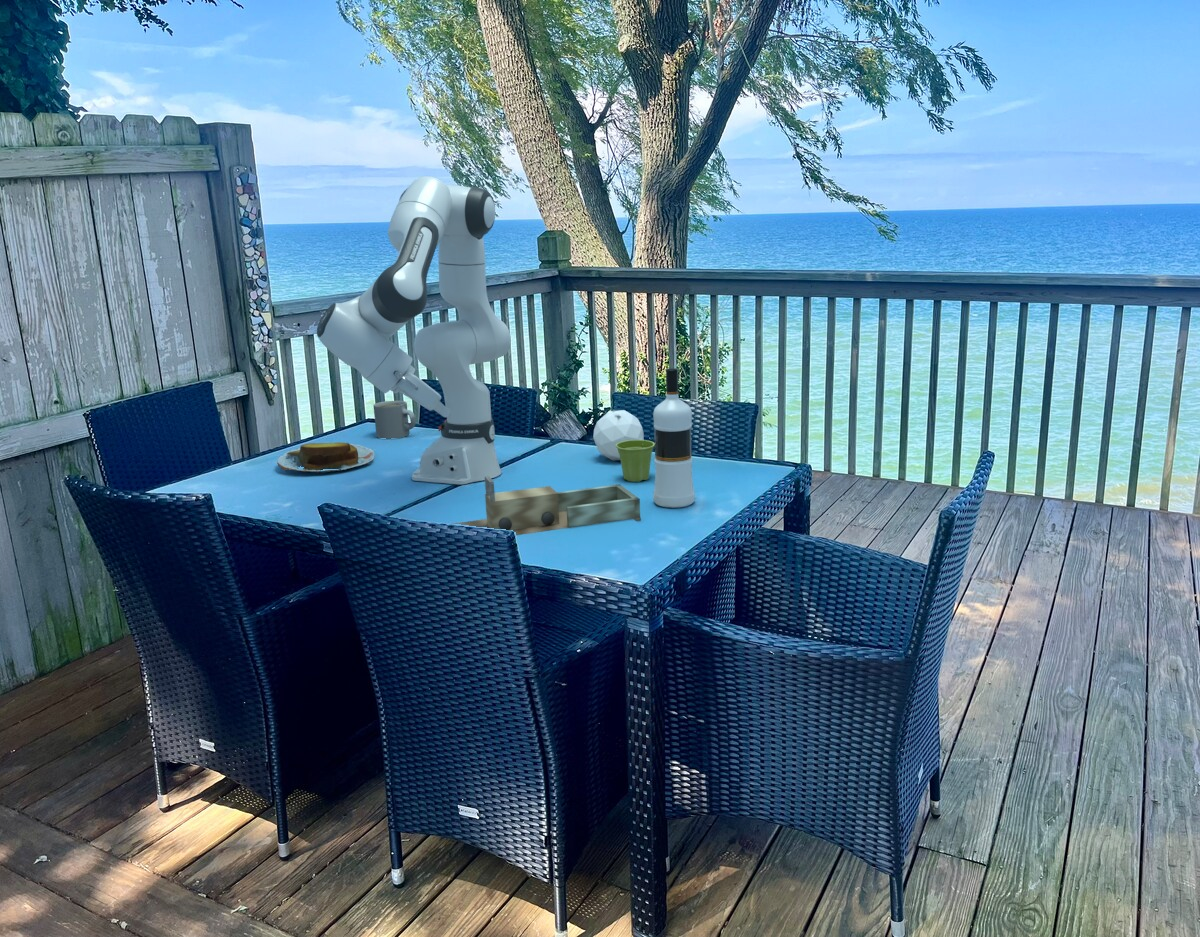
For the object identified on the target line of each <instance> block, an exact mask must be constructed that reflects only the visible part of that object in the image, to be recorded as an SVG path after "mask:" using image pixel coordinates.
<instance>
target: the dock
mask: <svg viewBox="0 0 1200 937" xmlns="http://www.w3.org/2000/svg"><path fill="white" fill-rule="evenodd" d="M556 492H557V491H556ZM557 493H558V505H559V523H558V524H551V525H544V526H537V527H529V528H522V529H515V530H513V531H514V532H516V535H515V536H521V535H528V534H534V533H535V534H536V533H541V532H549V531H557V530H564V529H571V528H578V527H583V526H584V527H585V526H590V525H591V526H593V525H599V524H600V525H601V524H605V523H606V524H607V523H613V522H619V521H620V522H621V521H627V520H634V521H635V522H639V521H641V520H642V517H641V502H640V498H639V497H638V496H637V495H635V494H634V493H633V492H631V491H629V490H628V489H627V488H625V487H624V486H623V485H621V484H620V483H619V484H612V485H611V484H610V485H605V486H596V487H587V488H580V489H579V488H578V489H572V490H563V491H558V492H557ZM453 524H461V525H469V526H476V527H487V528H490V527H489V526H488V525H487V518H484V519H475V520H468V521H462V522H455V523H453Z"/></svg>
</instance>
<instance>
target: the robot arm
mask: <svg viewBox="0 0 1200 937" xmlns="http://www.w3.org/2000/svg"><path fill="white" fill-rule="evenodd" d="M495 220H496V203H495V201H494V197H493V196H492V194H491V193H490V192H489V190H487V189H484V188H482V187H478V186H477V187H476V186H472V187H469V186H463V185H456V184H455V185H454V184H446V183H445V181H443V180H441V179H439V178H437V177H434V176H431V175H426V176H425V175H424V176H420V177H418V178H416V179H415V180H413V182H412V183H411V184H410V185H409V186H408V187H407V188H406V189H405V190H404V191H403V192H402V193H401V195H400V197H399V201H398V203H397V205H396V207H395V208H394V211H393V213H392V215H391V218H390V221H389V224H388V230H387V237H388V239H389V241H390V244H391V245H392V246H393V248H394V249H395V250H396V251H397V252H398V255H397V257H396V260H395V262H394V264H391V265H390V266H389V267H387V268H386V269H385V270H383V272H381V273H380V275H378V277H377V278H376V280H375V281H374V282H373V283H371V285H370V286H369V287H368V288H367V289H366V290H365V291H364V292H363V293H362V294H361V295H358V296H356V297H354V298H353V299H350V300H347V301H344V302H339V303H338V302H334V303H332V304H331V305H330V306H329V307H328V308H327V309H326V310H325V312H324V314H323V315H322V316H321V318H320V320H319V322H318V324H317V327H316V336H317V338H318V340H319V341H320V343H321V344H322V345H323V346H324V347H325V348H326V349H327V350H328V351H330V352H331V353H332V354H333V355H334V356H335V357H337V358H338V359H339V360H340V361H341V362H343V363H344V364H345V365H347V366H349V367H351V368H353V369H355V370H357V371H358V372H359V374H360V375H361V376H362V377H363V379H365V380H366V381H368V382H369V383H370V384H371V385H373V386H374V387H375V388H376V389H378V390H379V391H380V392H382V393H383V394H387V393H389V391H391V392H392V393H393V394H398V393H401V394H402V395H404V396H405V397H407V398H409V399H410V400H412V401H414V402H416V403H417V404H418V405H420V406H422V407H423V408H425V409H426V410H428V411H435V412H437V413H438V414H439V415H440V416H441V417H443V418H446V419H445V420H444V422H442V423H441V424H440V425H439V426H438V427H437V428H438V431H439V432H440V433H441V434H440V437H438V438H437V439H435V440H434V442H432V443H431V444H430V445H428V447H427V448H426V449H425V450H424V451H423V452H422V454H421V456H420V460H419V461H420V462H419V463H420V465H419V468H417V469H416V470H415V471H413V472H412V474H411V480H412V481H417V482H427V483H439V484H448V485H449V484H450V485H467V484H470V483H475V482H481V481H485V476H489V477H490V478H491V479H493V478H497V477H499V476H500V475H501V474H502V470H501V467H500V465H499V460H498V458H497V453H496V452H497V451H496V447H495V436H496V434H495V431H496V430H495V424H494V419H493V418H492V409H491V397H490V396H491V395H490V394H491V393H490V390H489V388H488V386H486V384H485V383H483V381H480V380H478V379H476V378H474V376H473V375H472V373H471V369H470V365H476V364H483V363H488V362H491V361H495V360H496V359H499V358H502V357H504V356H506V354H508V352H509V350H510V347H511V342H512V338H511V337H512V336H511V332H510V330H509V327H508V326H507V325H506V323H505V322H504V321H503V320H501V319H500V318H499V317H498V316H497V315H496V313H495V312H494V310H493V309H492V307H491V305H490V304H491V303H490V302H489V298H488V292H487V278H486V277H487V276H486V274H487V273H486V249H485V241H484V236H485V235H487V234H489V232H490V231H491V229H492V228H493V227H494V223H495ZM437 248H438V286H439V287H438V291H439V293H440V296H441V297H442V299H443V300H444V301H445V302H446V303H448V304H450V305H452V306H454V307H455V308H456V311H457V314H458V320H452V321H443V322H436V323H433V324H430V325H427V326H425V327H422V328H419V330H418V332H417V333H416V335H415V336H414V341H413V350H414V355H415V356H416V358H417V360H418V362H419V363H420V364H421V365H423V366H424V367H425V368H426V369H428V370H429V371H431V373H433V375H434V376H435V377H436V379H437V381H438V382H439V385H440V387H441V389H442V392H443V397H444V403H442V402H441V399H442V395H441V394H440V393H439V392H438V391H436V390H435V389H433V388H432V387H431V386H429V384H427V383H426V382H425V381H423V380H422V379H421V378H419V377H418V376H417V375H415V372H416V368H415V367H414V366H413V365H412V362H413V357H412V356H410V355H409V354H408V353H407V352H405V351H404V350H403V349H401V348H400V347H399V346H398V345H396V344H395V343H394V342H393V341H391V339H390V338H391V337H392V336H394V335H395V334H396V333H397V332H398V331H399V330H401V329H402V328H403V327H404V326H405V325H406V324H407V323H408V322H409V321H411V320H413V318H415V317H417V316H419V314H421V313H422V312H423V311H424V309H425V308H426V305H427V302H428V301H427V300H428V290H427V280H428V274H429V270H430V267H431V264H432V261H433V258H434V255H435V253H436V249H437ZM444 404H445V405H444Z"/></svg>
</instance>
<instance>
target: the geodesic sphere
mask: <svg viewBox="0 0 1200 937" xmlns="http://www.w3.org/2000/svg"><path fill="white" fill-rule="evenodd" d="M644 435H645V434H644V430H643V426H642V424H641V422H640V420H639V418H638V417H636V416H635V415H633V414H631V413H630V412H628V411H626V410H625V409H622V410H616V409H612V410H610V411H608V412H606V413H605V414H604V415H603V416H602V417H601V418H600V419H599V420H597V421H596V424H595V425H594V429H593V436H592V437H593V438H592V439H593V440H594V443H595V447H596V448H597V450H598V452H599V453H600V454H601V455H603V456H604V457H606V458H607V459H609V460H610V461H612V462H614V461H621V460H620V454H619V453H618V448H616V444H617V443H619V442H623V441H628V440H645V439H644V437H645V436H644Z"/></svg>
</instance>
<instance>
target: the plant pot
mask: <svg viewBox="0 0 1200 937" xmlns="http://www.w3.org/2000/svg"><path fill="white" fill-rule="evenodd" d="M616 448H618V453H619V454H620V460H619V461H620V464H621V469H622V475H623V479H624V480H626V481H627V482H631V483H632V482H635V483H637V482H641V481H647V480H648V479H649V478H650V471H651V470H650V468H651V461H652V453H653V451H654V448H655V441H651V440H646V439H644V440H628V441H623V442H619V443H617V444H616Z"/></svg>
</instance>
